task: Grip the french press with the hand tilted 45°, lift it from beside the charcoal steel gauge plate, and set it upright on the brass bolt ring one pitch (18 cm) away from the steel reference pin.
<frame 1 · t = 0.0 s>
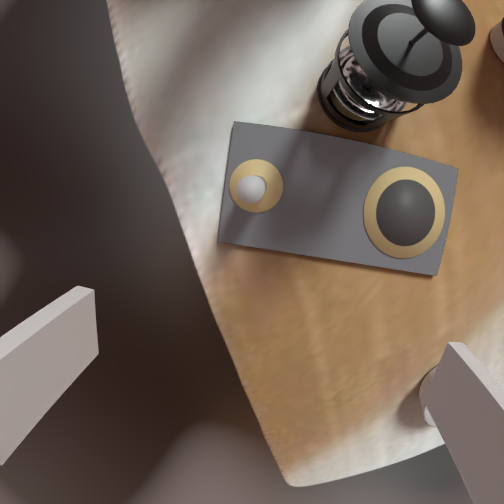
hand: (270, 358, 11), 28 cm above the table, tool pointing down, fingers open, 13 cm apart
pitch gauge: (346, 200, 36), on the table
ramekin: (443, 381, 42), on the table
french press: (360, 94, 33), on the table
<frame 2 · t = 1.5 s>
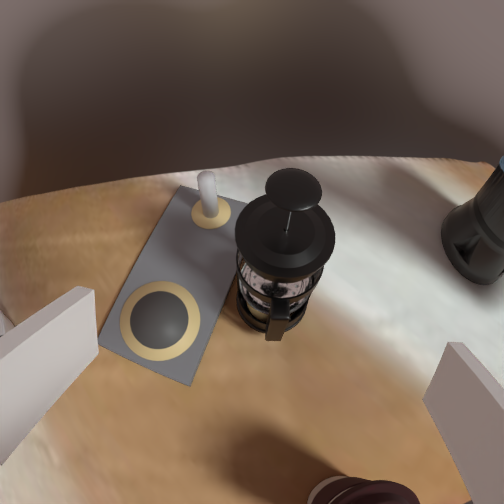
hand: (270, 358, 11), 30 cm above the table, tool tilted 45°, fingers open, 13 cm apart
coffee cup: (334, 500, 30), on the table
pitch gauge: (182, 274, 45), on the table
ramekin: (0, 346, 38), on the table
french press: (271, 304, 43), on the table
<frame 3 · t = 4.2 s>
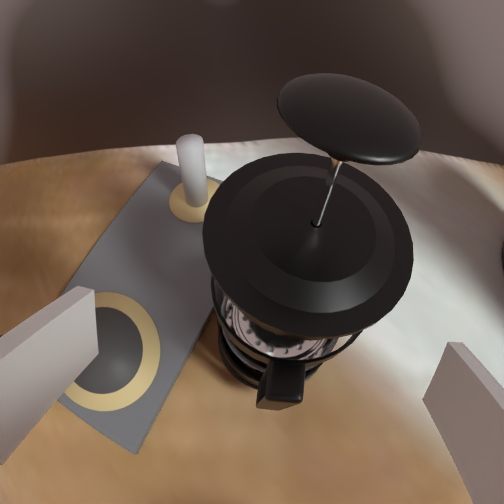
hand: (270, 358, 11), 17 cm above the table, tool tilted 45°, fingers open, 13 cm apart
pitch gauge: (144, 284, 29), on the table
french press: (272, 345, 27), on the table
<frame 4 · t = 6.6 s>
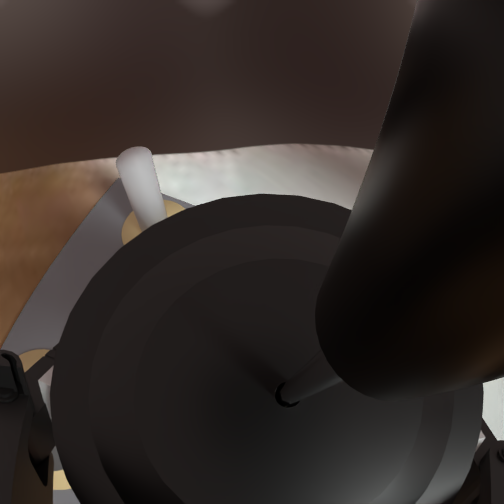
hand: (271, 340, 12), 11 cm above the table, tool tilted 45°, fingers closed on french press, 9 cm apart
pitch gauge: (91, 341, 22), on the table
french press: (248, 424, 20), on the table, touching gripper
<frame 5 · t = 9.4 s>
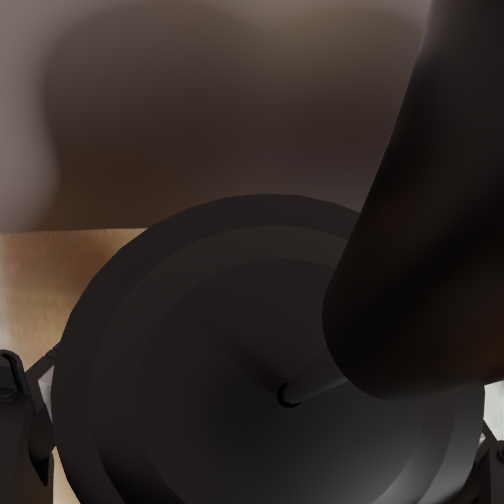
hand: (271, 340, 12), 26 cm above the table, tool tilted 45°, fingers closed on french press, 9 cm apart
french press: (248, 425, 20), point 15 cm above the table, touching gripper
when the fingers open (13 cm above the table, at t = 12.4 s): french press stays where it is, resting on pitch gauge.
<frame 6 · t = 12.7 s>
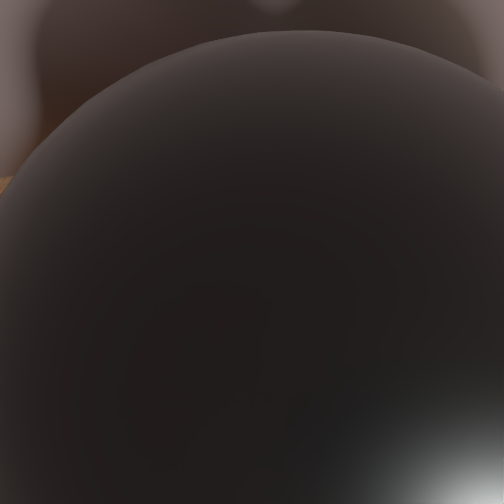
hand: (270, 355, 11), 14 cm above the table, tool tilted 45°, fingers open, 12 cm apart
french press: (250, 426, 20), point 1 cm above the table, touching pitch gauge
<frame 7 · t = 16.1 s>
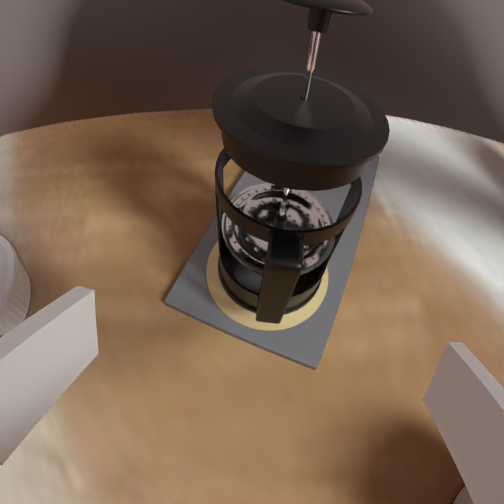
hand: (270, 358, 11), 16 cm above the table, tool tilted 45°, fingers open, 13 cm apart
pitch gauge: (294, 216, 34), on the table
ramekin: (1, 304, 27), on the table
french press: (269, 272, 29), point 1 cm above the table, touching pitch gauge
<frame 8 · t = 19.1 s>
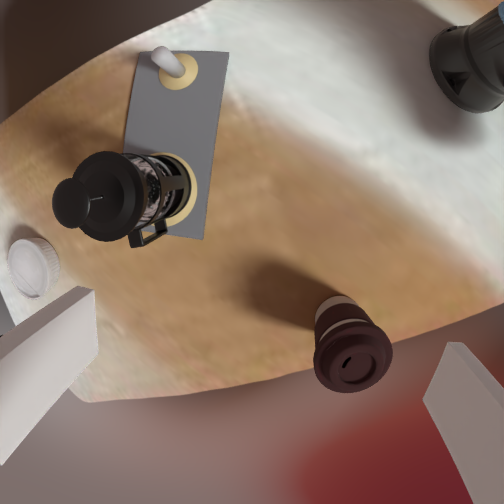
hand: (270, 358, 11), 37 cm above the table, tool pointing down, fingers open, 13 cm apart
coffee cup: (337, 315, 49), on the table
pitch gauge: (169, 139, 45), on the table
ramekin: (43, 262, 52), on the table
french press: (162, 190, 46), point 1 cm above the table, touching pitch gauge
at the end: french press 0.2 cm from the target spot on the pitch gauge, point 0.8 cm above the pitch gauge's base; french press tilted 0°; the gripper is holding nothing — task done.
